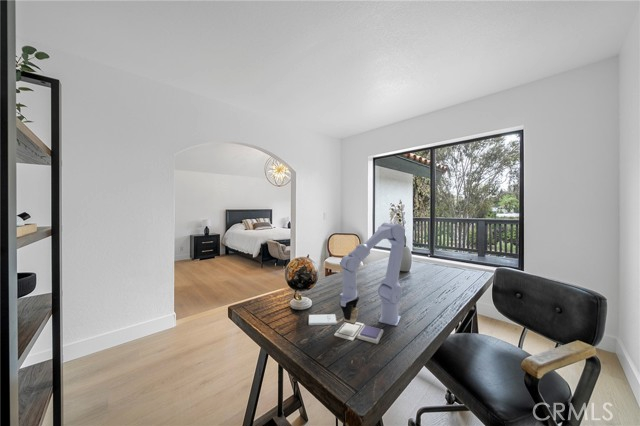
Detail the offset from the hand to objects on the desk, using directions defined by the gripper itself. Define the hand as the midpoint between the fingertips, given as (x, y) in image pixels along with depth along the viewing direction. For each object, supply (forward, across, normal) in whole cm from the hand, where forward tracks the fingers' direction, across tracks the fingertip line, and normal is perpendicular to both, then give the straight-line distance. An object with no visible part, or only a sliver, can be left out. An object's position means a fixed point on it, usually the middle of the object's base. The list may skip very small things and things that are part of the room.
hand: (349, 316), depth 99 cm
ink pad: (+6, 0, +9) cm, 11 cm away
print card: (+6, 0, 0) cm, 6 cm away
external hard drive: (+6, -2, -14) cm, 16 cm away
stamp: (+2, 0, +1) cm, 2 cm away
